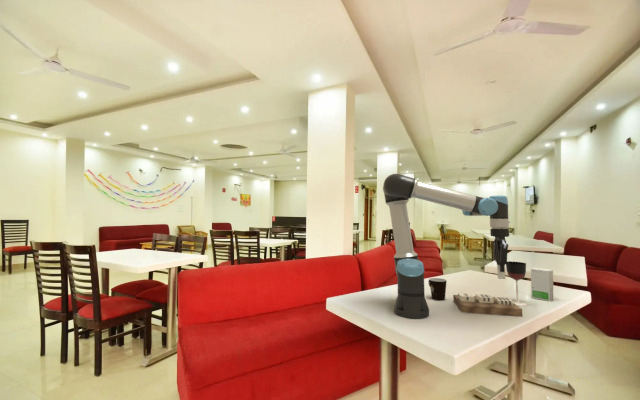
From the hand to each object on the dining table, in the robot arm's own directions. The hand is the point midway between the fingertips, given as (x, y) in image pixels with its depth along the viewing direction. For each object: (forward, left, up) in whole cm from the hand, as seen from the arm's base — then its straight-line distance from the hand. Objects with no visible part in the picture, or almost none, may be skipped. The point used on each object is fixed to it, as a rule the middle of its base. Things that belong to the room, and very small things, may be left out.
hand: (501, 278), depth 133 cm
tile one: (-16, 0, -11) cm, 19 cm away
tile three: (0, 0, -12) cm, 12 cm away
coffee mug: (-27, +13, -14) cm, 33 cm away
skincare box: (+26, +24, -14) cm, 39 cm away
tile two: (-8, 0, -11) cm, 13 cm away
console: (-8, 0, -14) cm, 16 cm away
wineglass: (+10, +12, -14) cm, 21 cm away
